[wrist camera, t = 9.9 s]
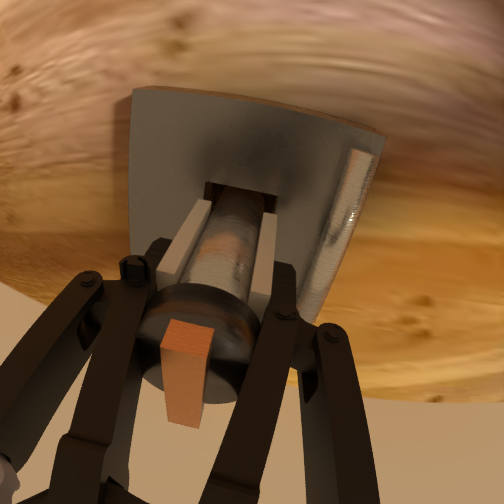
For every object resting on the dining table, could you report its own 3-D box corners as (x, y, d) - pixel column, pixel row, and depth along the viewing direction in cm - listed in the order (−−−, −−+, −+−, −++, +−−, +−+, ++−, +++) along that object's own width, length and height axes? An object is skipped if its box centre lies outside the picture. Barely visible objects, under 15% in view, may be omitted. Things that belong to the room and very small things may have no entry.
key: (214, 161, 19) (103, 329, 7) (282, 175, 19) (270, 371, 7) (205, 228, 21) (128, 409, 10) (266, 241, 21) (240, 437, 10)
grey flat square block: (150, 85, 16) (118, 91, 13) (374, 128, 16) (396, 144, 13) (144, 263, 24) (124, 296, 21) (312, 299, 24) (315, 338, 21)
